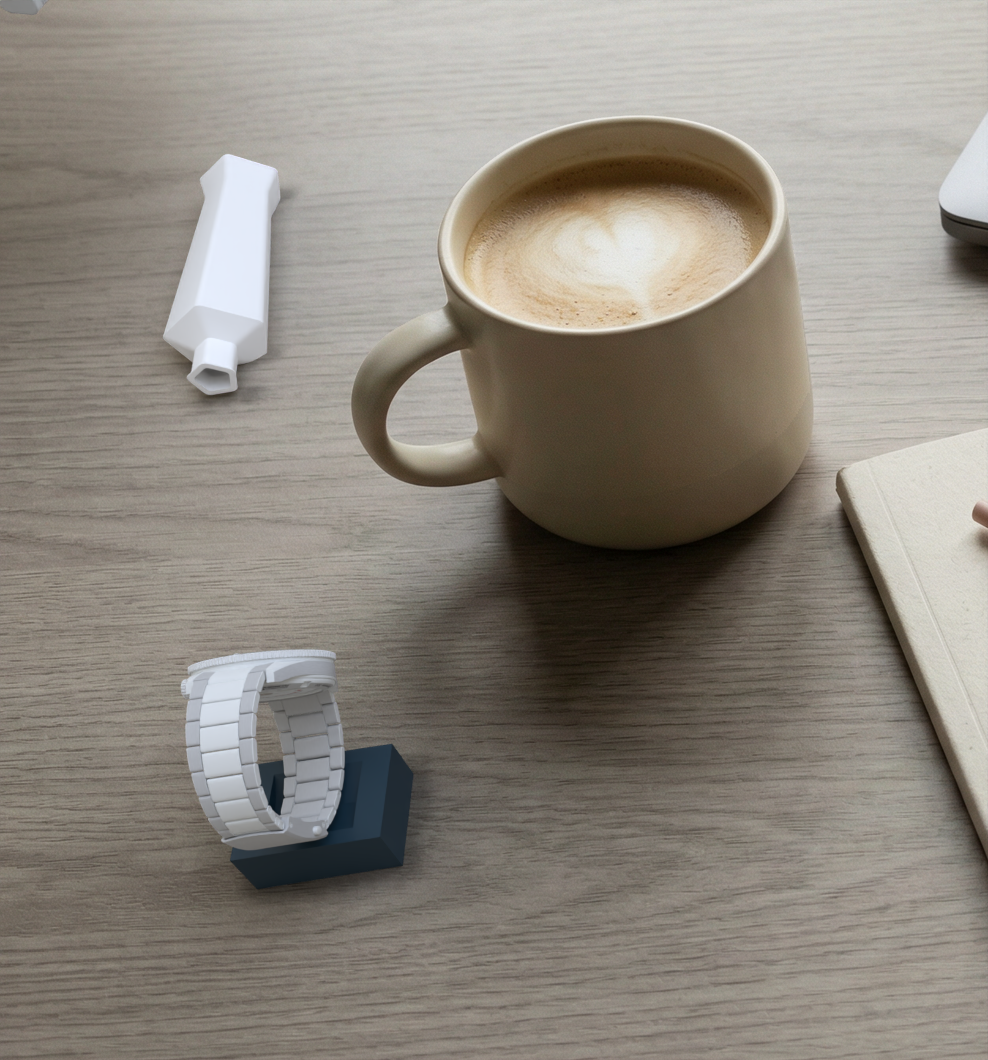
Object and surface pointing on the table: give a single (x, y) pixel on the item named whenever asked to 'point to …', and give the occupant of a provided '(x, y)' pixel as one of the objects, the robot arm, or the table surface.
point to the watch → (291, 771)
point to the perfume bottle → (226, 275)
